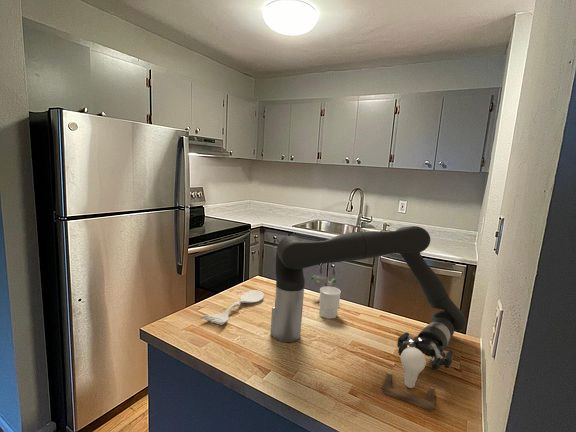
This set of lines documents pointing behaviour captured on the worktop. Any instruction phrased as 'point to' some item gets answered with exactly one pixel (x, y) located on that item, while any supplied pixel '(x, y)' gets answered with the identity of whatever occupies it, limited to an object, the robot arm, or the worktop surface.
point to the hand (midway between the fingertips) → (416, 359)
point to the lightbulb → (412, 365)
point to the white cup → (329, 302)
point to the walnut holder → (409, 395)
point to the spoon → (245, 298)
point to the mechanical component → (322, 281)
